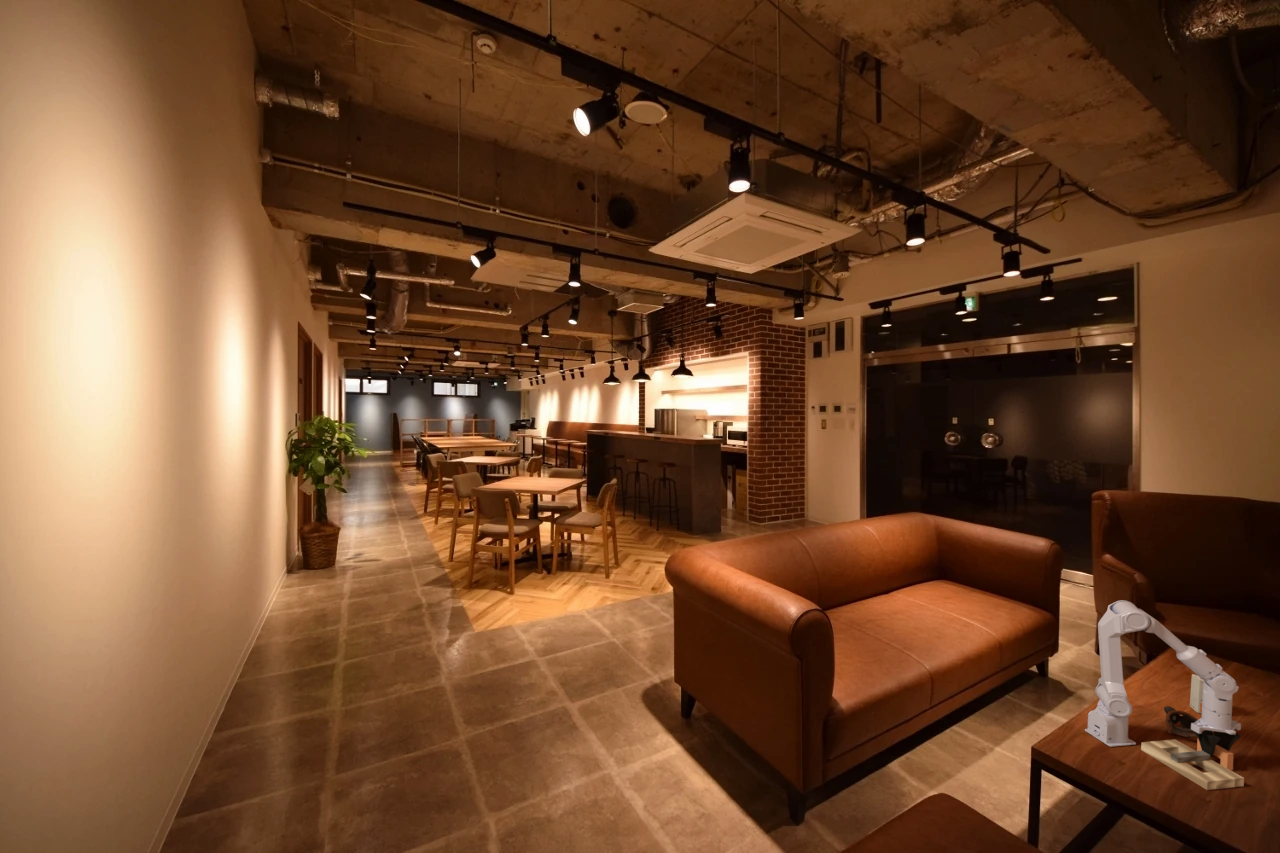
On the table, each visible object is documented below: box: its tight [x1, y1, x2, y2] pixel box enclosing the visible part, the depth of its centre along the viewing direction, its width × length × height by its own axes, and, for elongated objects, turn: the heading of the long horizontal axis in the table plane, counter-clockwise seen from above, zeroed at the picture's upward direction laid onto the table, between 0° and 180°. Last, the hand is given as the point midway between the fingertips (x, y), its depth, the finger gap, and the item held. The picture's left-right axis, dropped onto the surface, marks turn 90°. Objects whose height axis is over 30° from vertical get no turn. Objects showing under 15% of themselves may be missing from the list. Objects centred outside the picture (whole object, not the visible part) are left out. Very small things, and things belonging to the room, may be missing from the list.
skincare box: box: [1189, 673, 1205, 714], centre depth 169 cm, size 6×4×12 cm
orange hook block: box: [1196, 738, 1234, 771], centre depth 145 cm, size 2×7×5 cm, turn 7°
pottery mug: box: [1163, 705, 1199, 738], centre depth 159 cm, size 12×10×8 cm
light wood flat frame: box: [1140, 739, 1245, 791], centre depth 143 cm, size 12×16×4 cm
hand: (1214, 753), depth 145 cm, fingers open, 4 cm apart
